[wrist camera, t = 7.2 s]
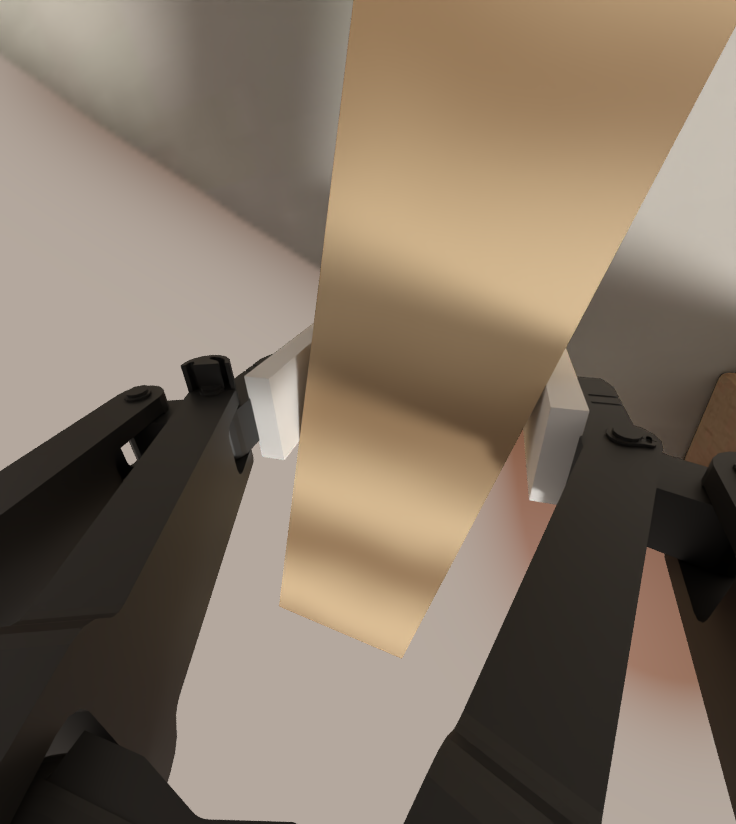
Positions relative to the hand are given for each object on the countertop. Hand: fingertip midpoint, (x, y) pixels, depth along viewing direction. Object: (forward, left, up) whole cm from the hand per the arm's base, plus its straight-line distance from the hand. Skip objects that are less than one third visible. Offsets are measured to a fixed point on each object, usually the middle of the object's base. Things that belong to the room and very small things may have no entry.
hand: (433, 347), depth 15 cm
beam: (0, 0, -1) cm, 1 cm away
